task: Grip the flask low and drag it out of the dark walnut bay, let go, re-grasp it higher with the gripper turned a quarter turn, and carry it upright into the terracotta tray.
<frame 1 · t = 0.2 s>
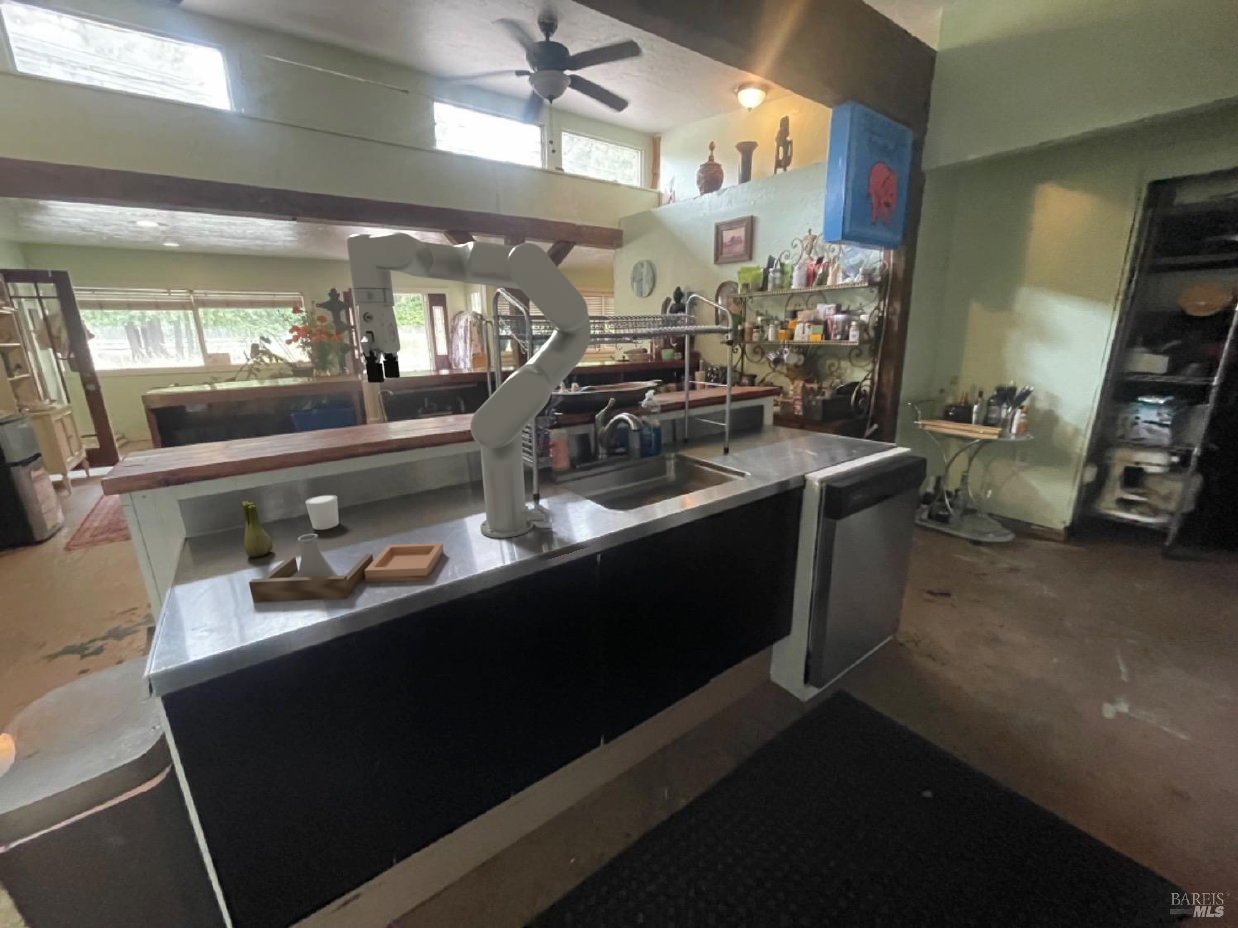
hand: (384, 380, 110), 36 cm above the table, tool pointing down, fingers open, 9 cm apart
fennel bulb: (261, 555, 109), on the table
white tapered cylinder: (326, 525, 124), on the table
flask: (317, 585, 95), on the table
tray: (407, 567, 102), on the table
bay: (316, 584, 95), on the table
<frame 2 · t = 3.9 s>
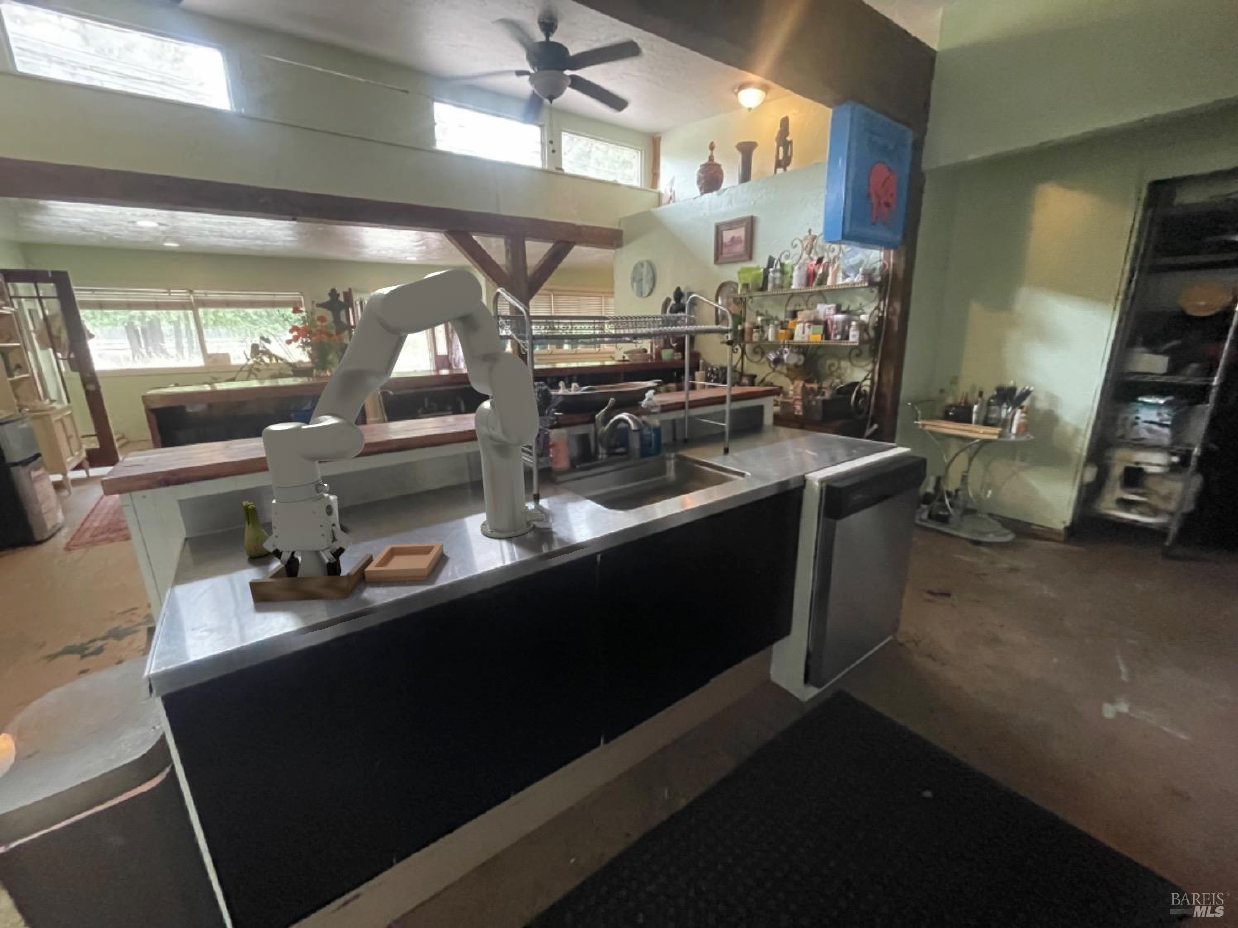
hand: (315, 578, 95), 1 cm above the table, tool pointing down, fingers closed on flask, 6 cm apart
flask: (316, 585, 95), on the table, touching gripper
everything else where it was.
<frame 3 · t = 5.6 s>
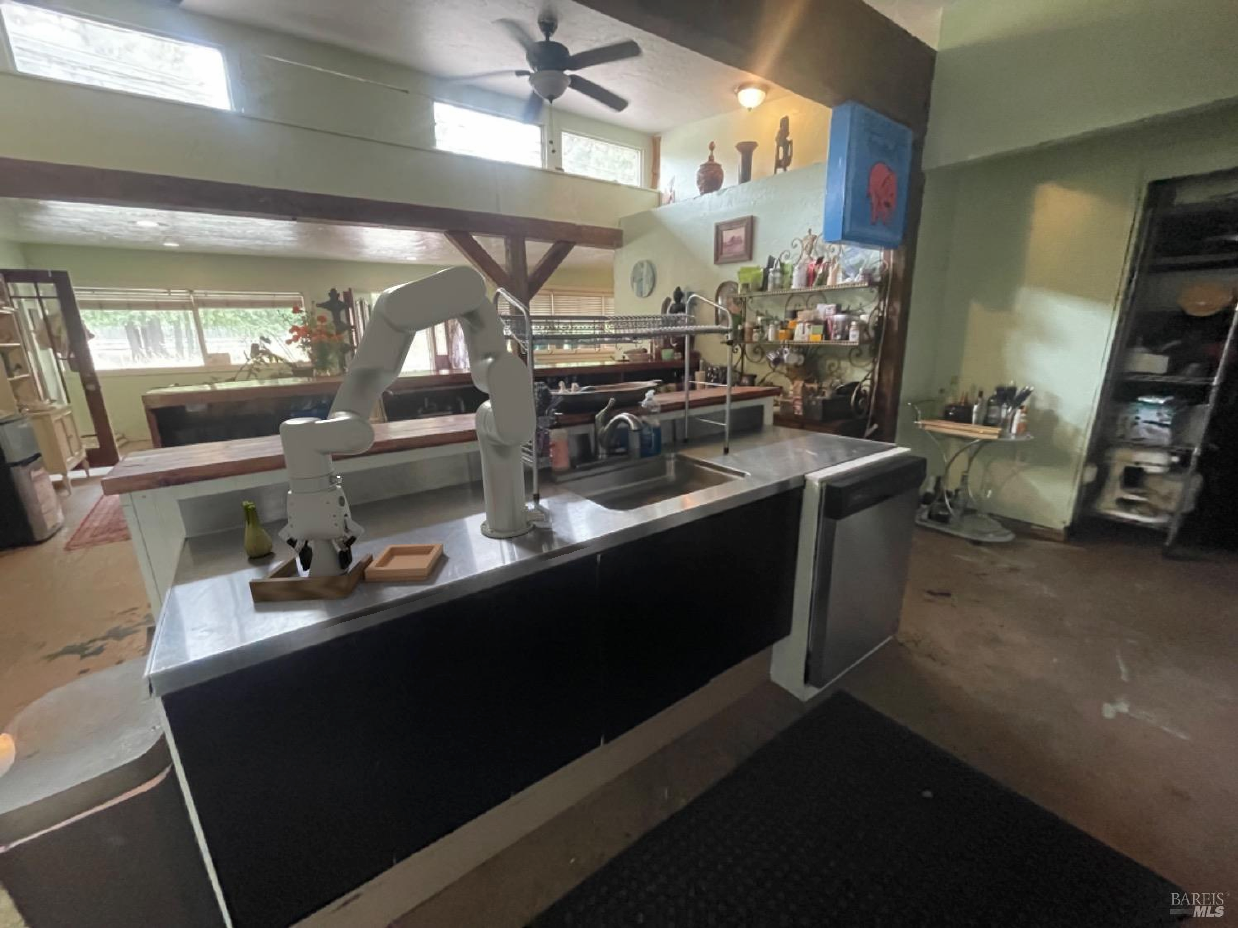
hand: (327, 566, 100), 1 cm above the table, tool pointing down, fingers closed on flask, 6 cm apart
flask: (328, 573, 100), on the table, touching gripper
everything else where it was.
when the fingers open (1 cm above the table, at t = 7.5 s): flask stays where it is, on the table.
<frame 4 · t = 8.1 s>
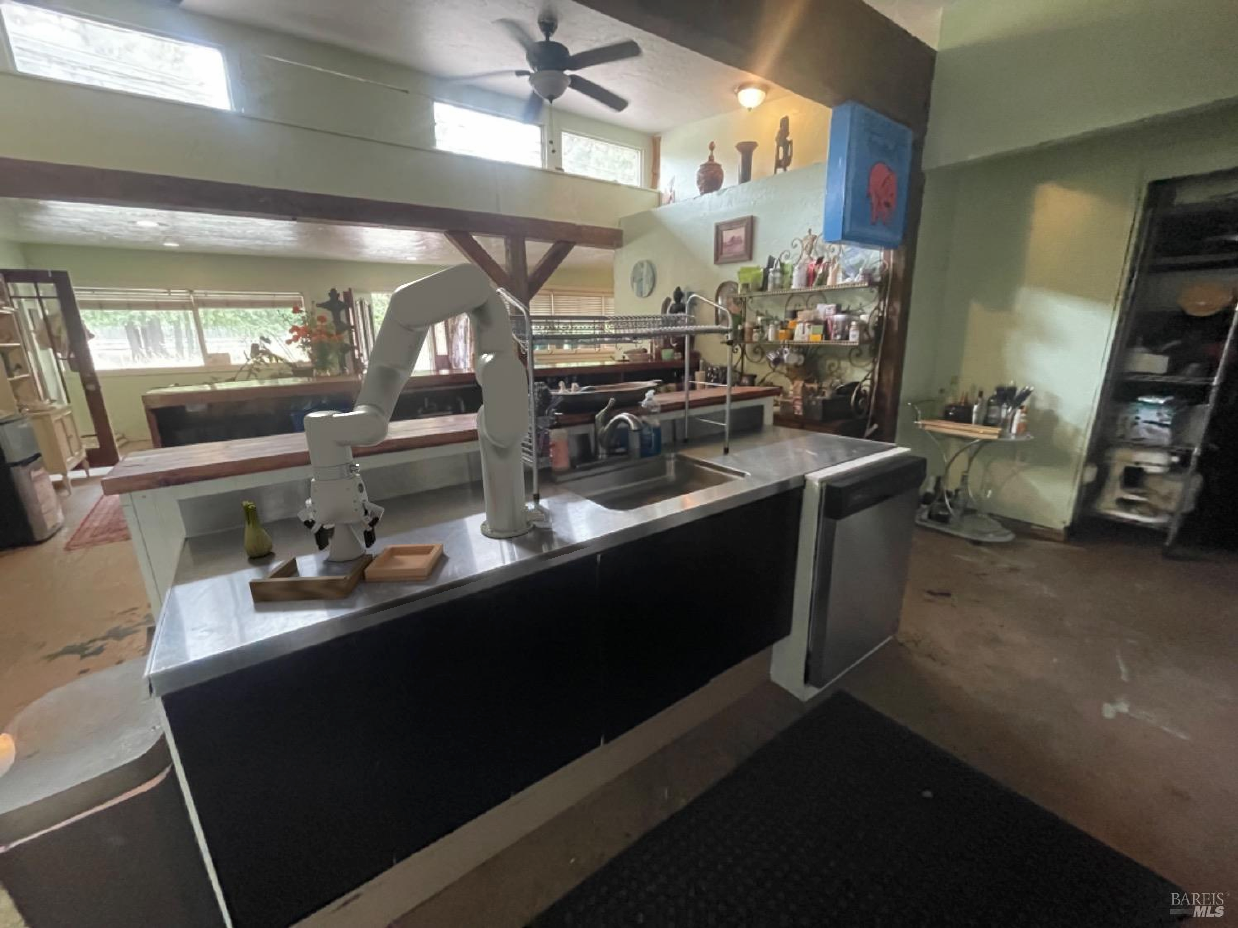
hand: (347, 546, 107), 2 cm above the table, tool pointing down, fingers open, 9 cm apart
flask: (347, 556, 108), on the table
everything else where it was.
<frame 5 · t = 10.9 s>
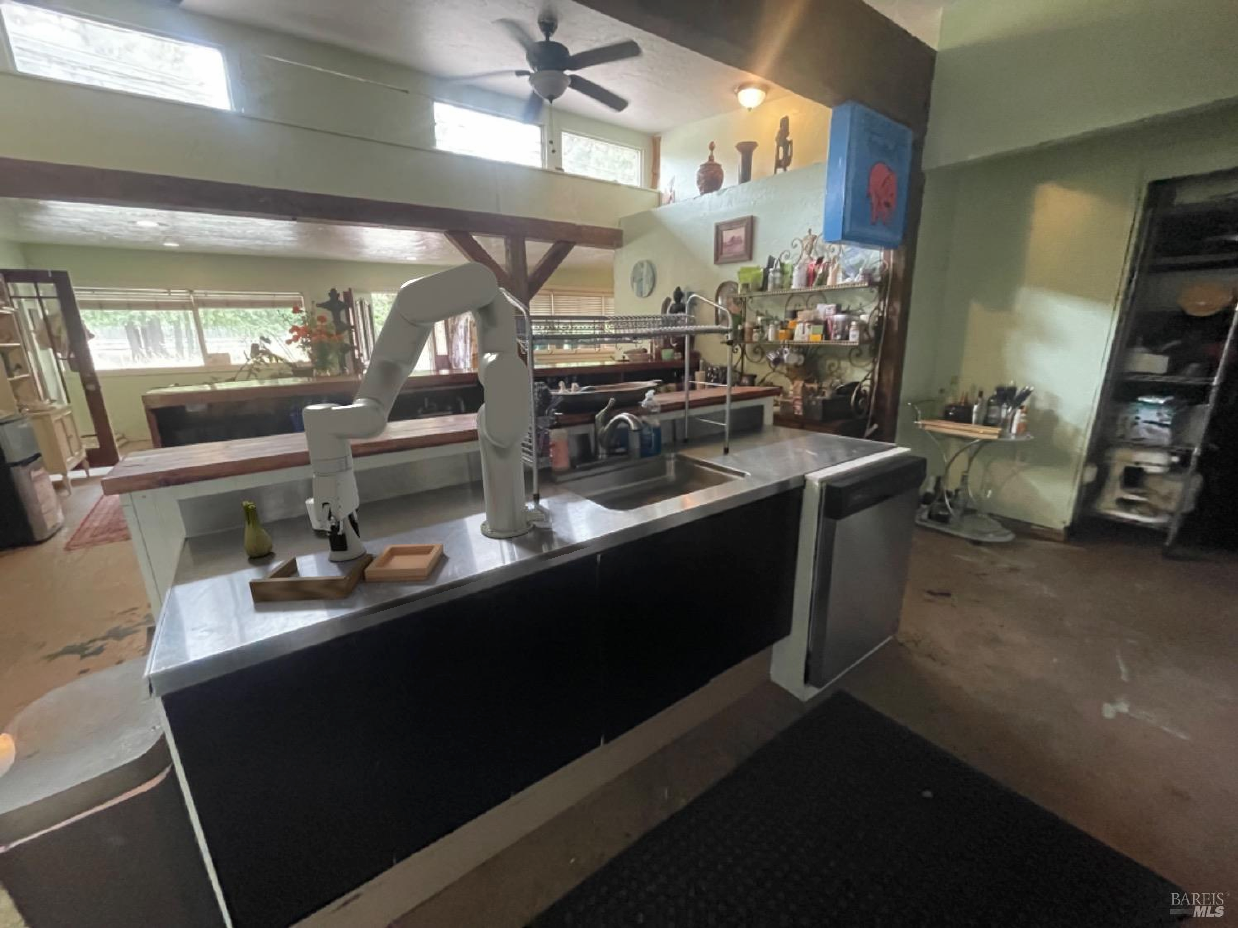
hand: (346, 544, 107), 2 cm above the table, tool pointing down, fingers closed on flask, 5 cm apart
flask: (347, 555, 108), on the table, touching gripper
everything else where it was.
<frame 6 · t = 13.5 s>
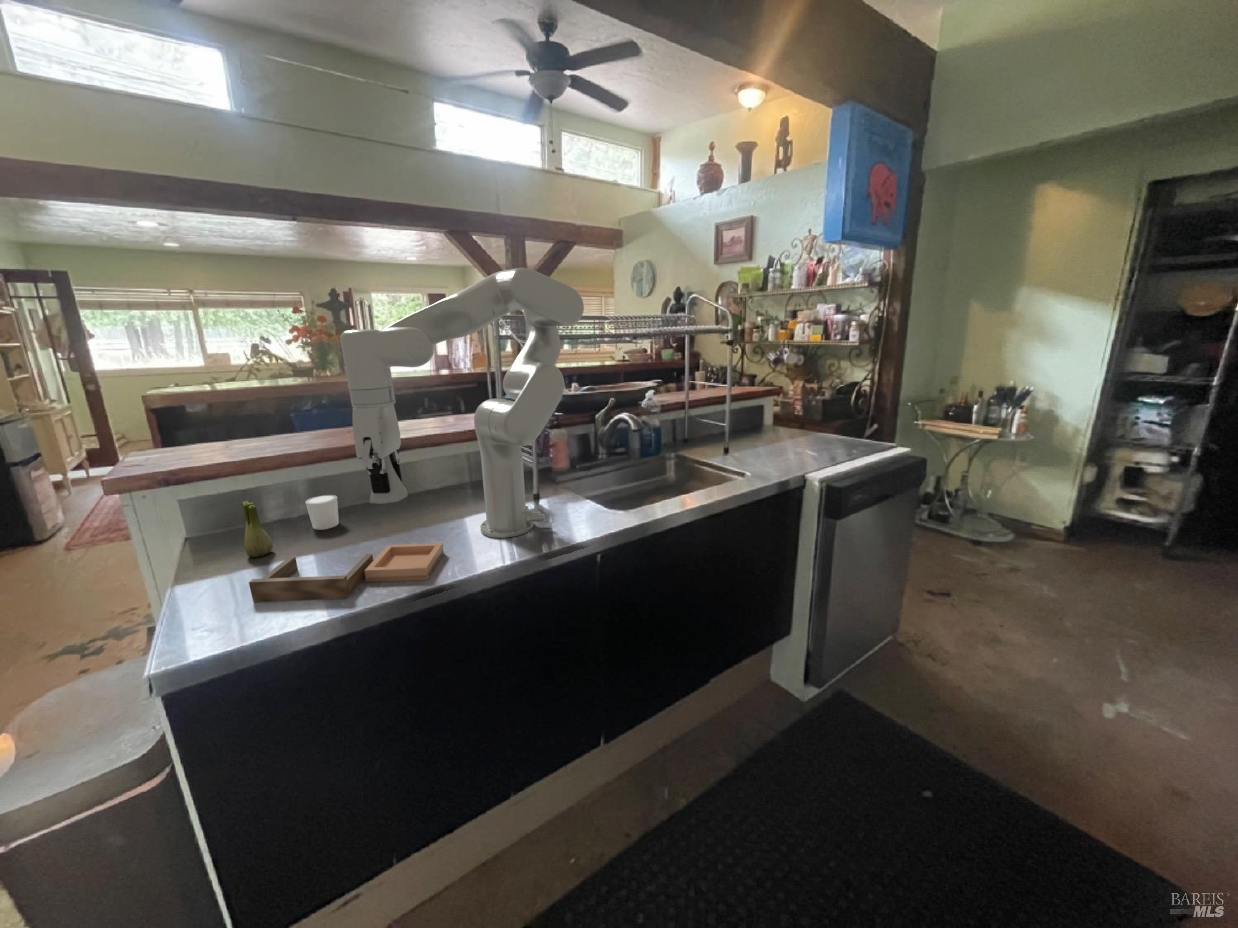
hand: (387, 486, 99), 17 cm above the table, tool pointing down, fingers closed on flask, 5 cm apart
flask: (389, 499, 100), point 14 cm above the table, touching gripper
everything else where it was.
when the fingers open (5 cm above the table, at t = 16.5 s): flask drops 1 cm, resting on tray.
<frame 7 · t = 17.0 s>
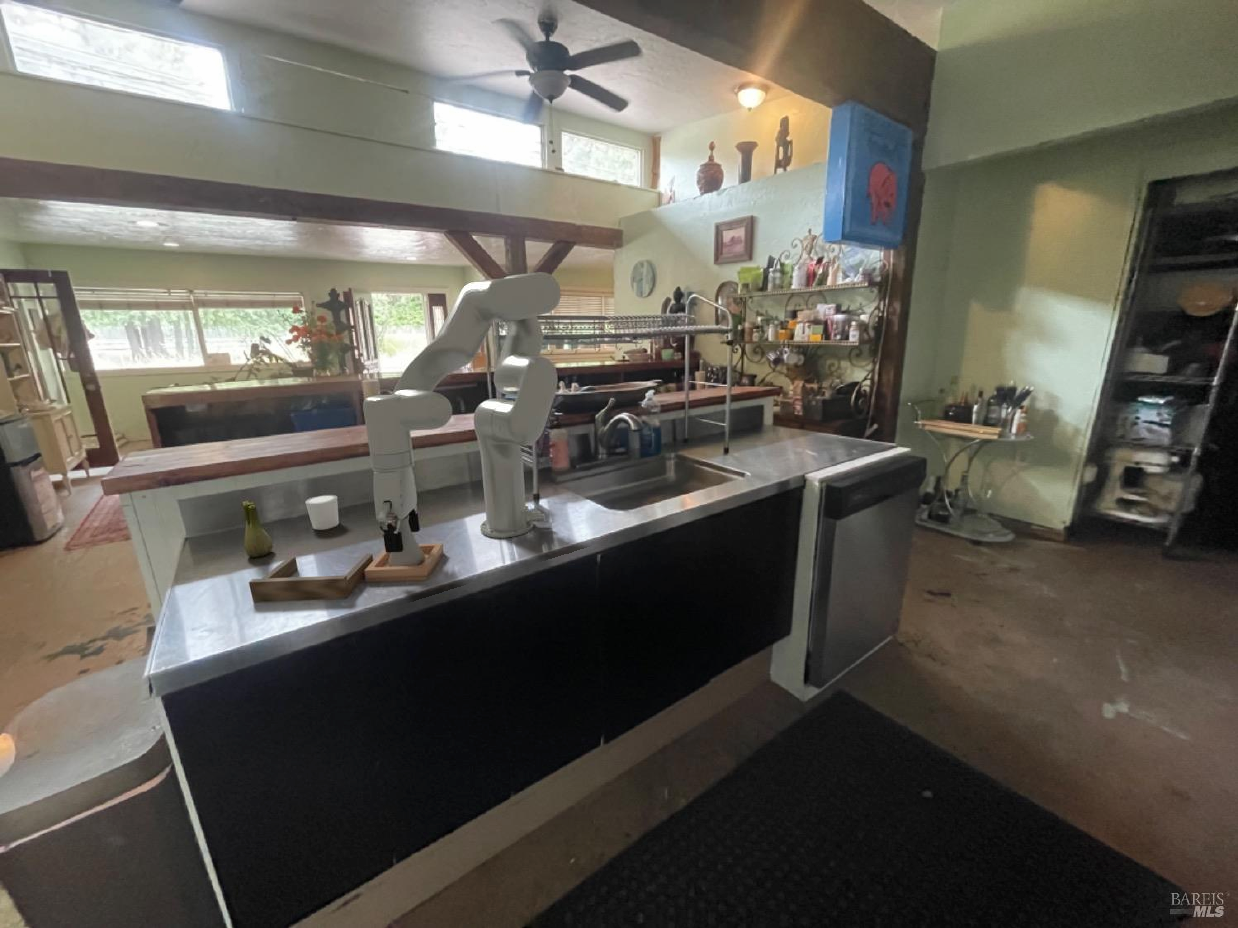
hand: (403, 541, 100), 6 cm above the table, tool pointing down, fingers open, 9 cm apart
flask: (407, 563, 102), point 1 cm above the table, touching tray
everything else where it was.
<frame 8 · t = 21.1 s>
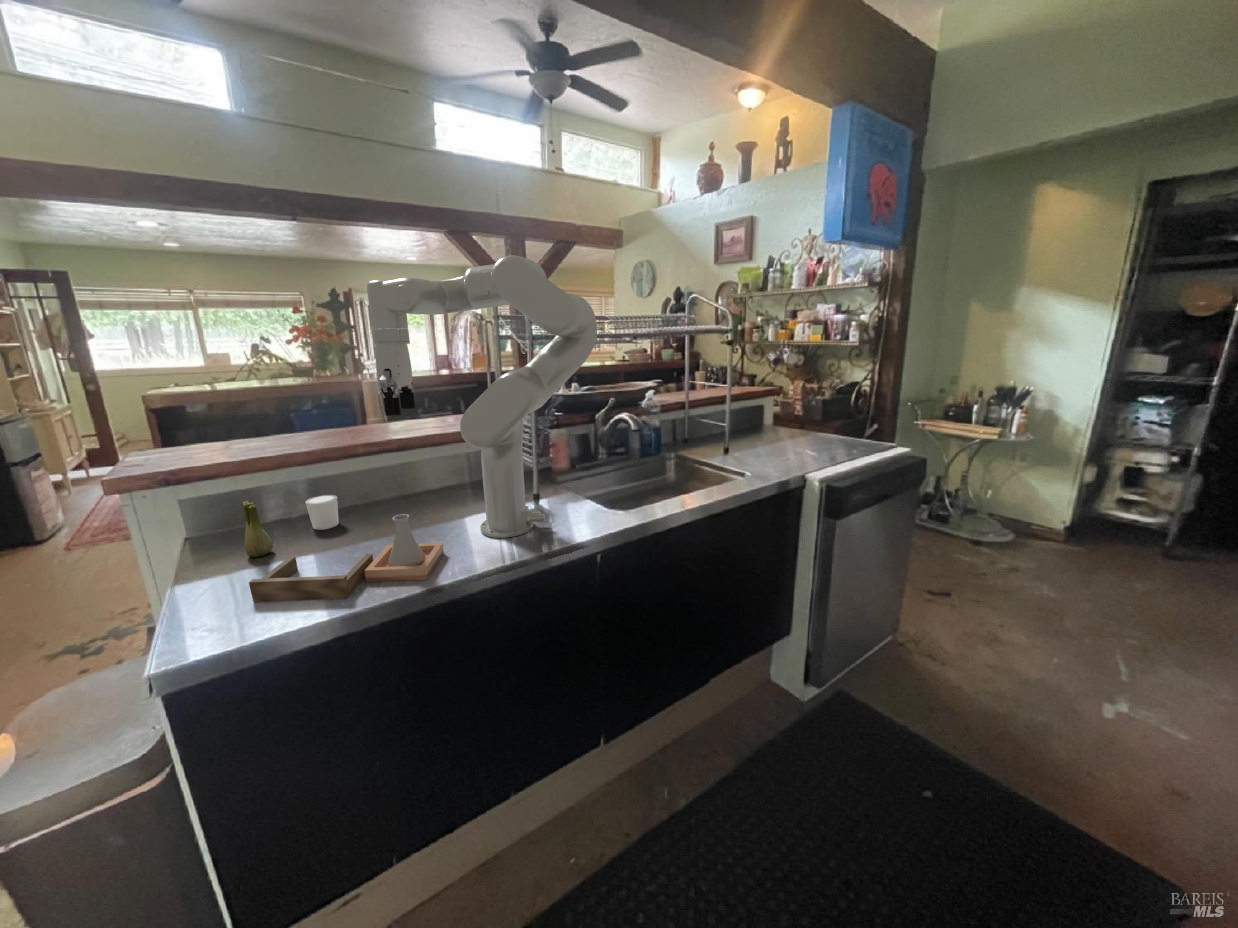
hand: (401, 411, 118), 28 cm above the table, tool pointing down, fingers open, 9 cm apart
nothing on the table moved.
at the end: flask 0.2 cm off-centre on the tray, point 0.8 cm above the tray's base; flask tilted 0°; the gripper is holding nothing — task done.
